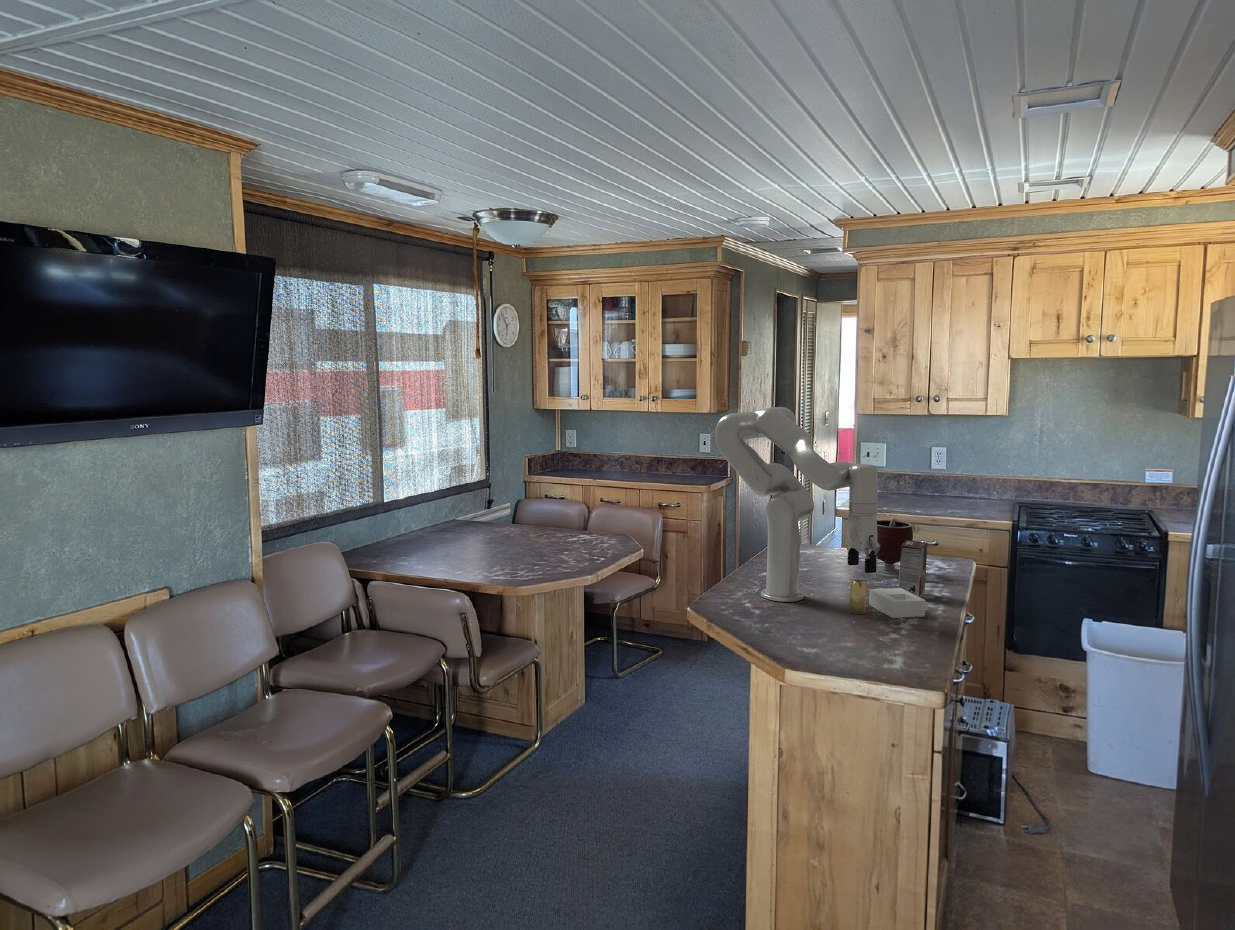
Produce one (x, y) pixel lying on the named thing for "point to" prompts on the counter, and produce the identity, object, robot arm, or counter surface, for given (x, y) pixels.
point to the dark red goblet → (891, 545)
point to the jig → (897, 602)
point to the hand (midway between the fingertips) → (861, 568)
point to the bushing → (857, 596)
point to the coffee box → (913, 567)
